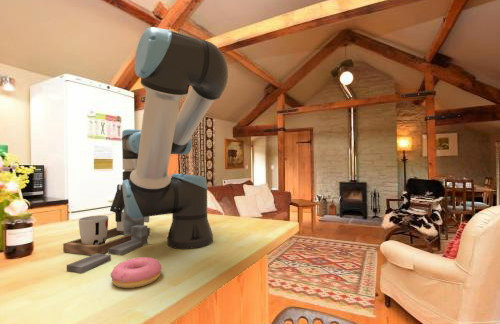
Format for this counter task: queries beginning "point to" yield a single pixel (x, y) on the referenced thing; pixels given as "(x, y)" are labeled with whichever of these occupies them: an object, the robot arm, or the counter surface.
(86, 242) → the cup
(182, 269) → the counter surface
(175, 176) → the robot arm
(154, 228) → the counter surface
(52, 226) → the counter surface
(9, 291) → the counter surface
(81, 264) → the broken strip
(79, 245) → the wooden serving tray
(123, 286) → the doughnut
